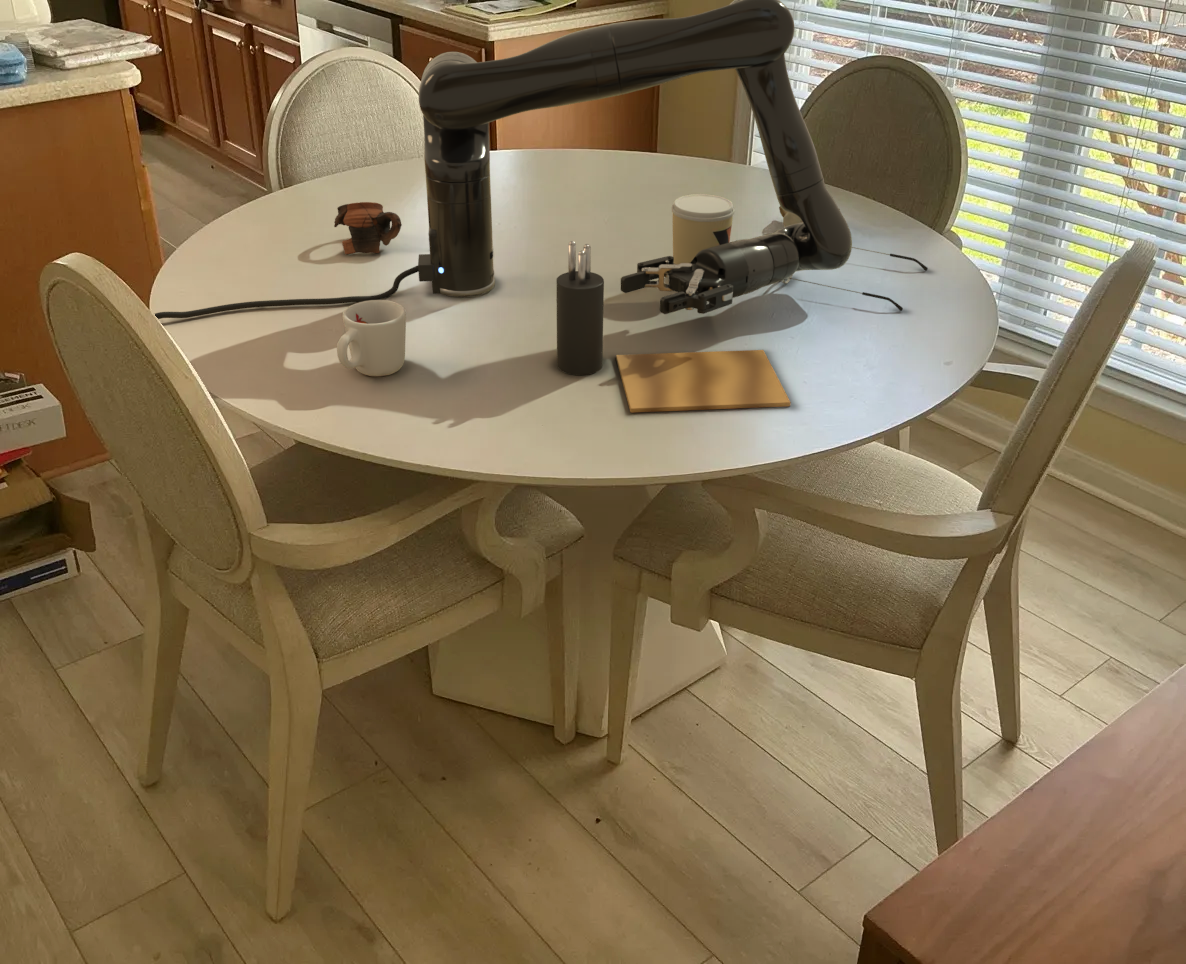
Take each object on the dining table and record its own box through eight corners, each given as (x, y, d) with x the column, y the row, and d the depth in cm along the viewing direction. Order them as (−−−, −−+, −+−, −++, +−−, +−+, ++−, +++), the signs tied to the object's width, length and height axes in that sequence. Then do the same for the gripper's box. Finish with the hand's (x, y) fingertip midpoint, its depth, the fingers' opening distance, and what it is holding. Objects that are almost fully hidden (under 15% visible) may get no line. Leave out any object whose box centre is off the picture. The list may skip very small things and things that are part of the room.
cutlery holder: (558, 376, 150) (558, 251, 141) (555, 355, 155) (554, 234, 146) (604, 374, 150) (607, 250, 141) (599, 354, 155) (601, 233, 146)
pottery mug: (325, 257, 185) (320, 205, 185) (356, 264, 194) (351, 215, 194) (391, 246, 181) (386, 193, 181) (420, 253, 190) (415, 203, 190)
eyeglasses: (811, 250, 189) (814, 227, 187) (926, 273, 182) (931, 249, 180) (777, 289, 175) (780, 264, 173) (901, 315, 169) (906, 289, 166)
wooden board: (630, 412, 142) (630, 408, 141) (615, 358, 154) (616, 354, 154) (790, 406, 143) (790, 402, 143) (762, 353, 156) (763, 349, 156)
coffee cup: (725, 293, 173) (731, 216, 167) (663, 288, 175) (667, 210, 169) (732, 270, 181) (737, 195, 175) (672, 265, 183) (676, 191, 176)
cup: (367, 396, 144) (361, 338, 140) (320, 380, 148) (313, 323, 144) (422, 364, 152) (418, 308, 148) (376, 349, 156) (371, 294, 151)
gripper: (701, 229, 165) (609, 252, 156) (770, 259, 155) (676, 286, 147) (698, 278, 169) (608, 304, 160) (765, 311, 159) (674, 340, 151)
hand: (641, 295), depth 154 cm, fingers open, 8 cm apart
